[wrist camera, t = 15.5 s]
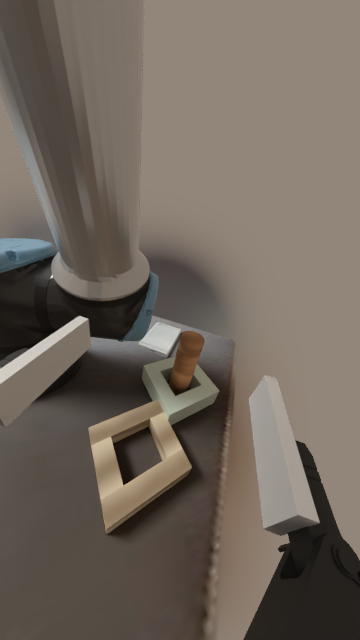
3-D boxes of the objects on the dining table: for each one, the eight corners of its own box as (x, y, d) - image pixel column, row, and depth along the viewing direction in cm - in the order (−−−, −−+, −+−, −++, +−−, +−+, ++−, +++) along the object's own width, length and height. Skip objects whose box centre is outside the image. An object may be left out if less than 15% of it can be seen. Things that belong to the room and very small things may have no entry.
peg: (163, 386, 37) (176, 333, 30) (180, 380, 39) (195, 329, 32) (173, 403, 34) (189, 348, 27) (190, 395, 36) (209, 343, 29)
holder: (89, 436, 27) (88, 427, 25) (155, 407, 33) (157, 399, 31) (106, 534, 19) (105, 529, 18) (188, 474, 25) (192, 467, 24)
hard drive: (157, 321, 55) (137, 343, 45) (181, 329, 54) (167, 354, 43) (156, 325, 56) (137, 348, 46) (180, 334, 55) (166, 359, 44)
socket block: (141, 378, 37) (143, 365, 35) (184, 365, 43) (188, 352, 41) (165, 428, 30) (169, 415, 28) (213, 403, 36) (219, 390, 34)
